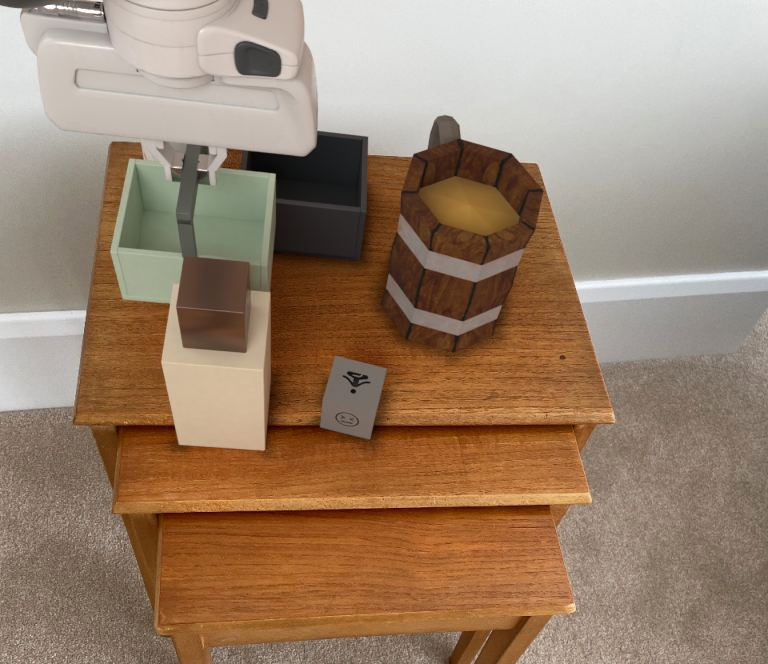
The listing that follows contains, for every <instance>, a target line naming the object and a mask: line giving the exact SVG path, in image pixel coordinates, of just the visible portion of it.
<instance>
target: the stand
mask: <svg viewBox="0 0 768 664" xmlns="http://www.w3.org/2000/svg"><path fill="white" fill-rule="evenodd" d="M178 290H179V284H176V283H174V284H173V290H172V296H171V303H169V310H168V315H167V321H166V322H167V323H166V328H165V335H164V342H163V346H162V347H163V348H162V355H161V359H160V360H161V367H162V372H163V376H164V381H165V386H166V391H167V395H168V400H169V405H170V410H171V414H172V419H173V423H174V428H175V434H176V439H177V443H178V445H179V446H192V447H203V448H204V447H206V448H219V449H220V448H221V449H233V450H235V449H237V450H249V451H252V450H253V451H264V452H265V451H266V445H267V433H268V419H269V408H270V407H269V406H270V398H271V397H270V395H271V386H272V385H271V383H272V336H271V335H272V323H271V322H272V319H271V318H272V317H271V316H272V313H271V312H272V310H271V309H272V305H271V304H272V303H271V302H272V301H271V295H272V294H271V291H270V292H262V291H251V310H250V320H249V330H248V340H247V350H246V353H239V352H227V351H215V350H203V349H191V348H183V345H182V340H181V334H180V328H179V322H178V316H177V310H176V303H177V297H178Z"/></svg>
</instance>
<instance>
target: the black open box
mask: <svg viewBox="0 0 768 664" xmlns="http://www.w3.org/2000/svg"><path fill="white" fill-rule="evenodd" d="M368 163H369V136H366V135H360V134H359V135H358V134H350V133H341V132H334V131H333V132H331V131H325V130H317V143H316V147H315V148H314V149H313V150H312V151H311V152H310V153H309V154H308V155H306V156H293V155H284V154H275V153H266V152H257V151H248V150H241V160H240V167H239V170H245V171H255V172H264V173H273V174H276V227H275V238H274V249H273V254H285V255H295V256H302V257H303V256H305V257H315V258H325V259H334V260H335V259H336V260H344V261H345V260H346V261H355V262H360V261H361V254H362V247H363V240H364V234H365V233H364V232H365V226H366V219H367V213H368V211H367V210H368V209H367V208H368V207H367V206H368V166H369V164H368Z"/></svg>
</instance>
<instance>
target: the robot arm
mask: <svg viewBox="0 0 768 664" xmlns="http://www.w3.org/2000/svg"><path fill="white" fill-rule="evenodd" d="M0 6H1V7H6V8H11V9H21V10H20V13H19V20H20V21H19V22H20V26H21V29H22V32H23V35H24V39H25V42H26V44H27V47H28V48H29V50H30V51H31V52H32V54H33V55H35V56H36V66H37V76H38V84H39V91H40V96H41V102H42V105H43V110H44V113H45V116H46V119H48V120H49V121H50V122H51V123H52V124H53V125H54V126H55V127H57V128H58V129H59V130H61V131H64V132H73V133H80V134H81V133H82V134H90V135H91V134H93V135H101V136H110V137H119V138H129V139H138V140H140V139H145V142H146V148H147V149H148V150H149V151H150V152H151V154H152V155H153V156H154V157H155V158H156V159H157V160H158V161H159V163H160V164H161V165H162V166H164V170H165V177H166V181H171V182H181V176H182V171H183V164H184V159H185V152H177V151H174V149H173V148H172V147H171V145H170V144H169V142H174V143H183V144H192V145H202V146H209V153H210V154H209V155H204V154H199V158H198V162H199V163H198V165H197V174H198V177H199V178H198V182H199V184H202V185H209V186H210V185H211V186H217V180H218V168H219V167H220V166H222V165H223V163H224V162H225V161H226V159H227V158H228V154H229V149H230V150H240V151H242V150H248V151H257V152H266V153H275V154H284V155H293V156H306V155H308V154H309V153H310V152H311V151H312V150H313V149H314V148H315V147H316V143H317V131H318V129H319V128H318V126H319V125H318V124H319V96H318V83H317V82H318V81H317V72H316V67H315V66H316V65H315V61H314V57H313V54H312V52H311V51H312V50H311V49H310V47H309V46H308V44H307V42H305V31H306V29H305V13H304V5H303V2H302V0H102V1H97V0H0Z"/></svg>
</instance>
